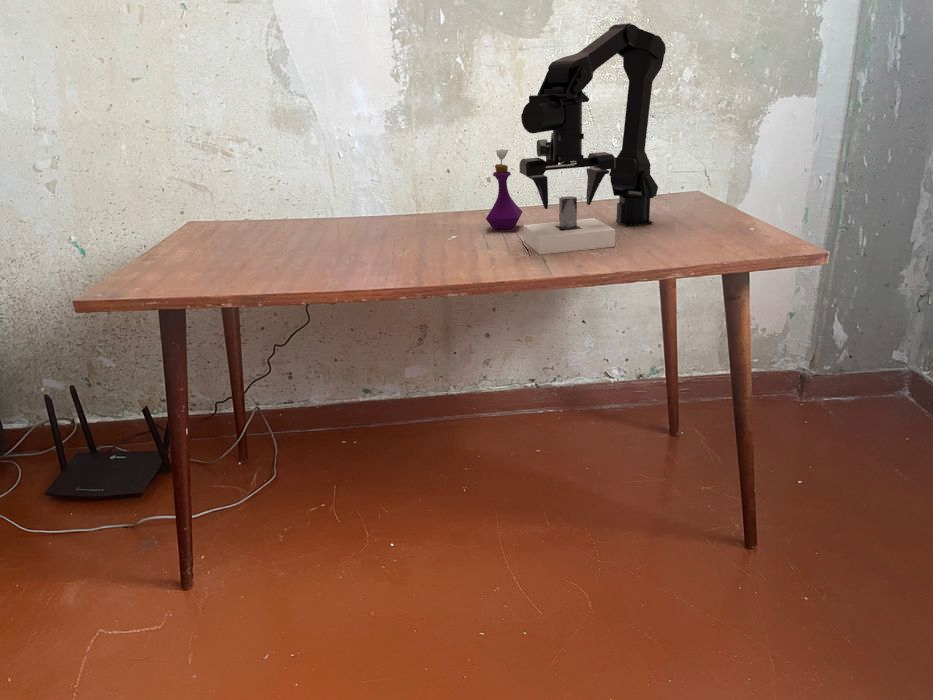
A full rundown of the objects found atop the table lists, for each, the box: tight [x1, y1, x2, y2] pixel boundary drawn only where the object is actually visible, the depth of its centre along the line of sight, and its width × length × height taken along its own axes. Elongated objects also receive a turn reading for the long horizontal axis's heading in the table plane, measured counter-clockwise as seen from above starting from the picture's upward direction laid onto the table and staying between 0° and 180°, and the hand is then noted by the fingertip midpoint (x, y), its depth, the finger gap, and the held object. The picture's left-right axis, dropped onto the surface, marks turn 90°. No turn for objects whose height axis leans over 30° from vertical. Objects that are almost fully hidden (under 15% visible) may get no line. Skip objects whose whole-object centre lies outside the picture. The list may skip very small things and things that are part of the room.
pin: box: [558, 195, 578, 231], centre depth 147 cm, size 4×4×9 cm
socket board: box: [523, 217, 616, 256], centre depth 149 cm, size 16×12×4 cm
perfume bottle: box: [485, 149, 523, 232], centre depth 162 cm, size 8×8×18 cm
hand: (567, 206), depth 146 cm, fingers open, 9 cm apart
